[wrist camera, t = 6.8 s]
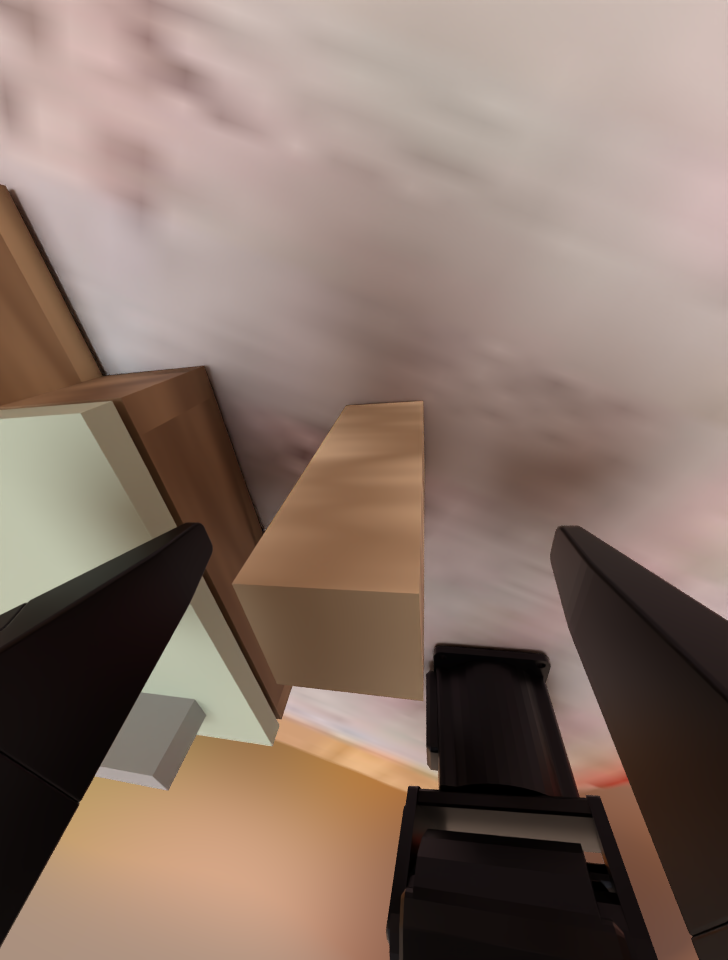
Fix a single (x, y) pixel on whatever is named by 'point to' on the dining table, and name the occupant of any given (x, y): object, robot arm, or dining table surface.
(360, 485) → the brown wooden block
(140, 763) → the lid
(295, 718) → the dining table surface
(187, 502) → the wooden box tray
